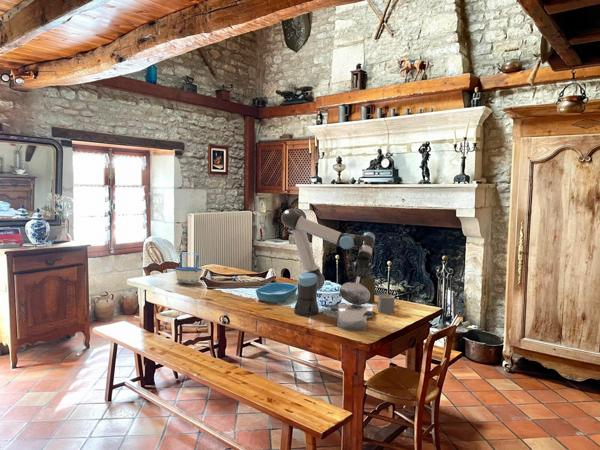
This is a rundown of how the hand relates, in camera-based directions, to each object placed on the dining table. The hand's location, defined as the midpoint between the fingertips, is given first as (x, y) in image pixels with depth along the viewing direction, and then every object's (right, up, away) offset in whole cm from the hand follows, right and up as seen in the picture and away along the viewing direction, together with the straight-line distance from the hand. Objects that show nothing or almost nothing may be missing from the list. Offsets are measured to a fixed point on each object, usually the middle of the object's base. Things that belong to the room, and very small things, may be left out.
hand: (356, 287), depth 235 cm
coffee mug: (+23, -20, +30) cm, 43 cm away
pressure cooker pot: (-3, -21, -3) cm, 21 cm away
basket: (-120, -11, +96) cm, 154 cm away
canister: (+14, -18, +54) cm, 59 cm away
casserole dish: (-48, -16, +57) cm, 76 cm away
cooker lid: (-1, -4, -1) cm, 4 cm away
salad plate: (+2, -20, +22) cm, 29 cm away
